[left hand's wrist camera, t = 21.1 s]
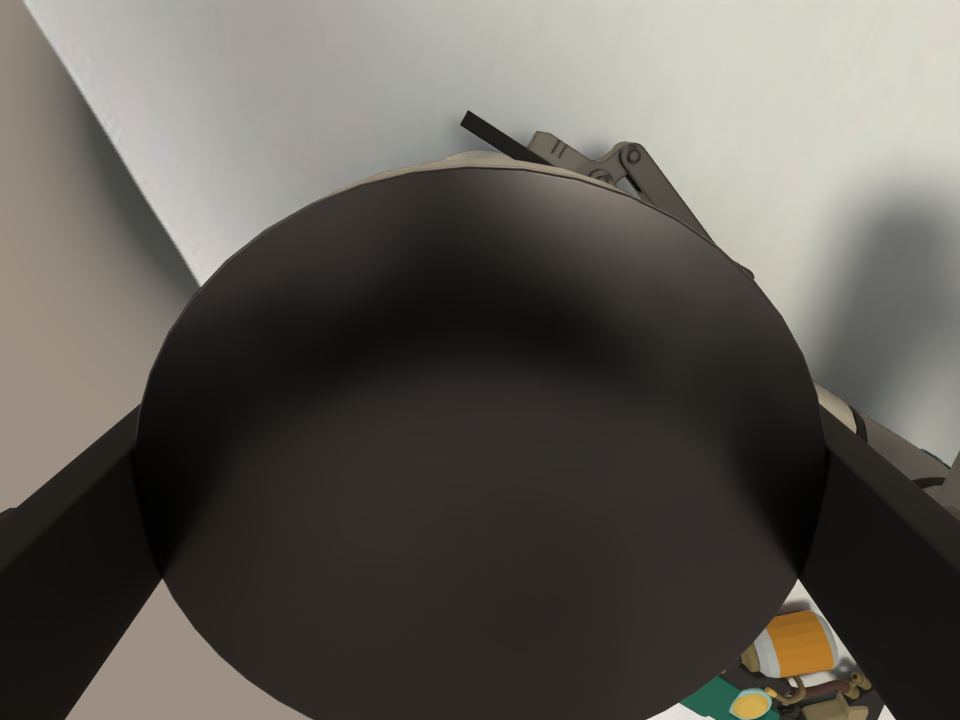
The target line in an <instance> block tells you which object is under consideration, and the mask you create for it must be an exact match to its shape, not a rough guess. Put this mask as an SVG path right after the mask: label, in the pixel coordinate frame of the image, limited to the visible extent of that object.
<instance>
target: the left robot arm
mask: <svg viewBox="0 0 960 720" xmlns="http://www.w3.org/2000/svg"><path fill="white" fill-rule="evenodd" d="M819 404H820V403H819ZM140 406H141V404H139V405H138V406H137V407H136V408H135V409H134V410H132V411H131V412H130V413H129V414H128V415H126V416H125V417H124V418H123V419H122V420H120V421H119V422H118V423H117V424H116V425H114V426H113V427H112V428H111V429H110V430H109V431H107V432H106V433H105V434H104V435H103V436H101V437H100V438H99V439H98V440H97V441H95V442H94V443H93V444H92V445H91V446H90V447H88V448H87V449H86V450H85V451H84V452H82V453H81V454H80V455H79V456H78V457H76V458H75V459H74V460H73V461H72V462H70V463H69V464H68V465H67V466H66V467H64V468H63V469H62V470H61V471H60V472H59V473H57V474H56V475H55V476H54V477H53V478H51V479H50V480H49V481H48V482H47V483H45V484H44V485H43V486H42V487H41V488H39V489H38V490H37V491H36V492H35V493H34V494H32V495H31V496H30V497H29V498H28V499H26V500H25V501H24V502H23V503H22V504H20V505H19V506H18V507H17V508H9V509H7V510H5V511H3V512H2V513H0V720H65V718H66V717H67V716H68V714H69V713H70V711H71V710H72V708H73V707H74V705H75V704H76V702H77V701H78V700H79V698H80V697H81V695H82V694H83V692H84V691H85V689H86V688H87V687H88V685H89V684H90V682H91V681H92V679H93V678H94V676H95V675H96V674H97V672H98V671H99V669H100V668H101V666H102V665H103V663H104V662H105V661H106V659H107V658H108V656H109V655H110V653H111V652H112V650H113V649H114V647H115V646H116V645H117V643H118V642H119V640H120V639H121V637H122V636H123V634H124V633H125V631H126V630H127V629H128V627H129V626H130V624H131V623H132V621H133V620H134V619H135V617H136V616H137V614H138V613H139V611H140V610H141V608H142V607H143V605H144V604H145V603H146V601H147V600H148V598H149V597H150V595H151V594H152V592H153V591H154V590H155V588H156V587H157V585H158V584H159V582H160V581H161V579H162V576H161V574H160V572H159V570H158V568H157V566H156V564H155V562H154V559H153V556H152V553H151V550H150V548H149V545H148V541H147V538H146V534H145V531H144V526H143V522H142V518H141V513H140V509H139V505H138V500H137V496H136V490H135V467H134V448H135V439H136V430H137V422H138V413H139V409H140ZM820 410H821V415H822V421H823V426H824V431H825V442H826V481H825V489H824V496H823V502H822V507H821V511H820V516H819V520H818V523H817V527H816V531H815V535H814V539H813V543H812V547H811V550H810V553H809V555H808V557H807V559H806V561H805V564H804V566H803V568H802V570H801V573H800V575H799V577H798V579H799V580H800V582H801V583H802V585H803V586H804V588H805V589H806V590H807V592H808V593H809V595H810V596H811V598H812V599H813V601H814V602H815V603H816V605H817V606H818V608H819V609H820V611H821V612H822V614H823V615H824V616H825V618H826V619H827V621H828V622H829V624H830V625H831V627H832V628H833V630H834V631H835V632H836V634H837V635H838V637H839V638H840V640H841V641H842V643H843V644H844V645H845V647H846V648H847V650H848V651H849V653H850V654H851V656H852V657H853V658H854V660H855V661H856V663H857V664H858V666H859V667H860V669H861V670H862V672H863V673H864V674H865V676H866V677H867V679H868V680H869V682H870V683H871V685H872V686H873V687H874V689H875V690H876V692H877V693H878V695H879V696H880V698H881V699H882V700H883V702H884V703H885V705H886V706H887V708H888V709H889V711H890V712H891V714H892V715H893V716H894V718H895V719H896V720H960V510H958V509H956V508H954V507H952V506H941V505H940V504H939V503H938V502H936V501H935V500H934V499H933V498H932V497H930V496H929V495H928V494H927V493H926V492H925V491H923V490H922V489H921V488H920V487H919V486H917V485H916V484H915V483H914V482H913V481H911V480H910V479H909V478H908V477H907V476H905V475H904V474H903V473H902V472H901V471H900V470H898V469H897V468H896V467H895V466H894V465H892V464H891V463H890V462H889V461H888V460H886V459H885V458H884V457H883V456H882V455H880V454H879V453H878V452H877V451H876V450H875V449H873V448H872V447H871V446H870V445H869V444H867V443H866V442H865V441H864V440H863V439H861V438H860V437H859V436H858V435H857V434H855V433H854V432H853V431H852V430H851V429H850V428H848V427H847V426H846V425H845V424H844V423H842V422H841V421H840V420H839V419H838V418H836V417H835V416H834V415H833V414H832V413H830V412H829V411H828V410H827V409H826V408H825V407H823V406H822V405H821V404H820Z"/></svg>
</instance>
